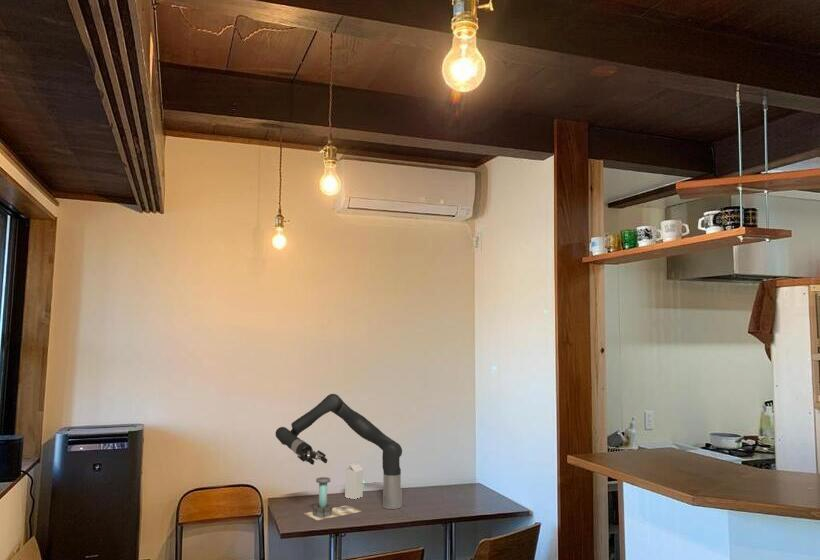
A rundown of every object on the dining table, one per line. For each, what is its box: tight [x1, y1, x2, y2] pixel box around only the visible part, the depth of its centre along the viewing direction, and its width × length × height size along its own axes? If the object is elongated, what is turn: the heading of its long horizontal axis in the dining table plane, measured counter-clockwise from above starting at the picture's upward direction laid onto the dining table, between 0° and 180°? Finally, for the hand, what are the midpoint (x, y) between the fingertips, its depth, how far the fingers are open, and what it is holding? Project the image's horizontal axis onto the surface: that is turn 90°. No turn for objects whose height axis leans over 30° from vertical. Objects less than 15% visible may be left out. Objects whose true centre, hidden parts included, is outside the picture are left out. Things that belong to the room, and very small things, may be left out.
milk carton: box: [344, 461, 364, 500], centre depth 341 cm, size 7×7×19 cm
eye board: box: [303, 503, 363, 521], centre depth 306 cm, size 26×14×6 cm, turn 128°
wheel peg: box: [315, 476, 331, 508], centre depth 303 cm, size 7×7×17 cm
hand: (320, 462), depth 306 cm, fingers open, 8 cm apart
